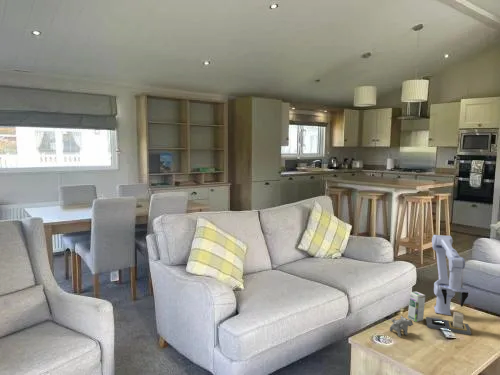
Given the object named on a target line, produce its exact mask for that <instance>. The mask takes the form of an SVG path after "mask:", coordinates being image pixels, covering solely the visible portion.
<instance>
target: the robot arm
mask: <svg viewBox="0 0 500 375" xmlns="http://www.w3.org/2000/svg"><path fill="white" fill-rule="evenodd" d="M431 243H432V244H431V245H432V246H431V247H432V250H433V251H434V252H435V254H436V264H437V272H438V275H437V276H438V279H437V280H436V281H435V282H434V283H433V293H434V295H435V296H436V299H435V300H436V303H435V305H434V306H433V307H434V312H435V313H436V314H439V315H440V314H441V315H445V316H452V313H451V302H452V300H451V299H453V297H455V295H456V293H461V298H460V307H461V308H463V307H464V304H465V301H466V300H467V298H468V297H469V295H471V289H470V288H464V287H462V282H463V281H462V280H463V279H462V278H463V270H464V269H465V266H466V261H465V258H464V257H462V256H460V254H459V253H458V251H457V250H456V249H455V248H453V243H454V240H453V237H452V236H451V235H441V234H433V236H432V238H431ZM447 260H448V263H447ZM447 264H448V268H447ZM448 270H449V274H448ZM448 275H449V276H448Z"/></svg>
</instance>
